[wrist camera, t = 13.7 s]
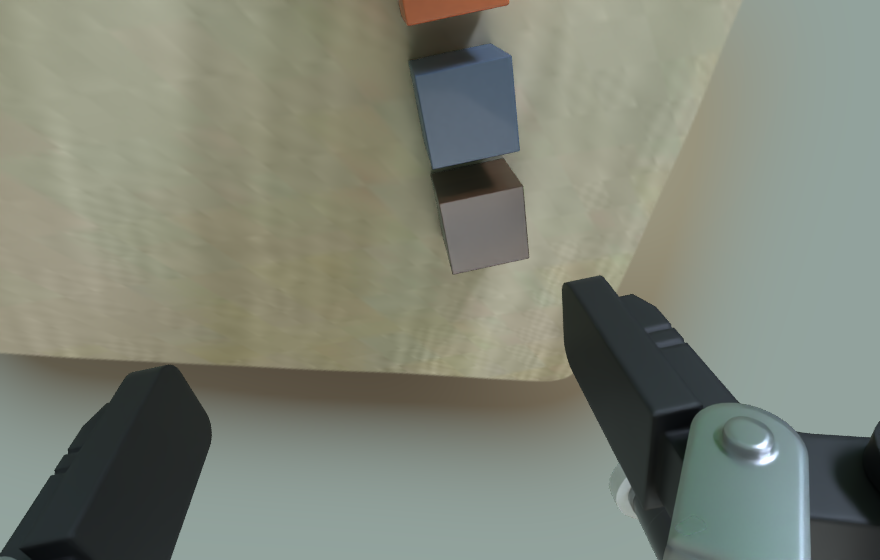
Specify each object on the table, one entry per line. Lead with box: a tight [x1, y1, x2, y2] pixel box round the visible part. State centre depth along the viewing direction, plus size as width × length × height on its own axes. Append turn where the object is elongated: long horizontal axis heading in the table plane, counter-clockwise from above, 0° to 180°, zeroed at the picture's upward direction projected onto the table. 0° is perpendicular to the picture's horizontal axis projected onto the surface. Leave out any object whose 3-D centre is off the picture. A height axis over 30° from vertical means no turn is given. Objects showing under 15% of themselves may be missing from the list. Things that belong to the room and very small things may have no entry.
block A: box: [431, 159, 529, 274], centre depth 29 cm, size 5×5×5 cm
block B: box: [408, 43, 520, 169], centre depth 25 cm, size 5×5×5 cm
